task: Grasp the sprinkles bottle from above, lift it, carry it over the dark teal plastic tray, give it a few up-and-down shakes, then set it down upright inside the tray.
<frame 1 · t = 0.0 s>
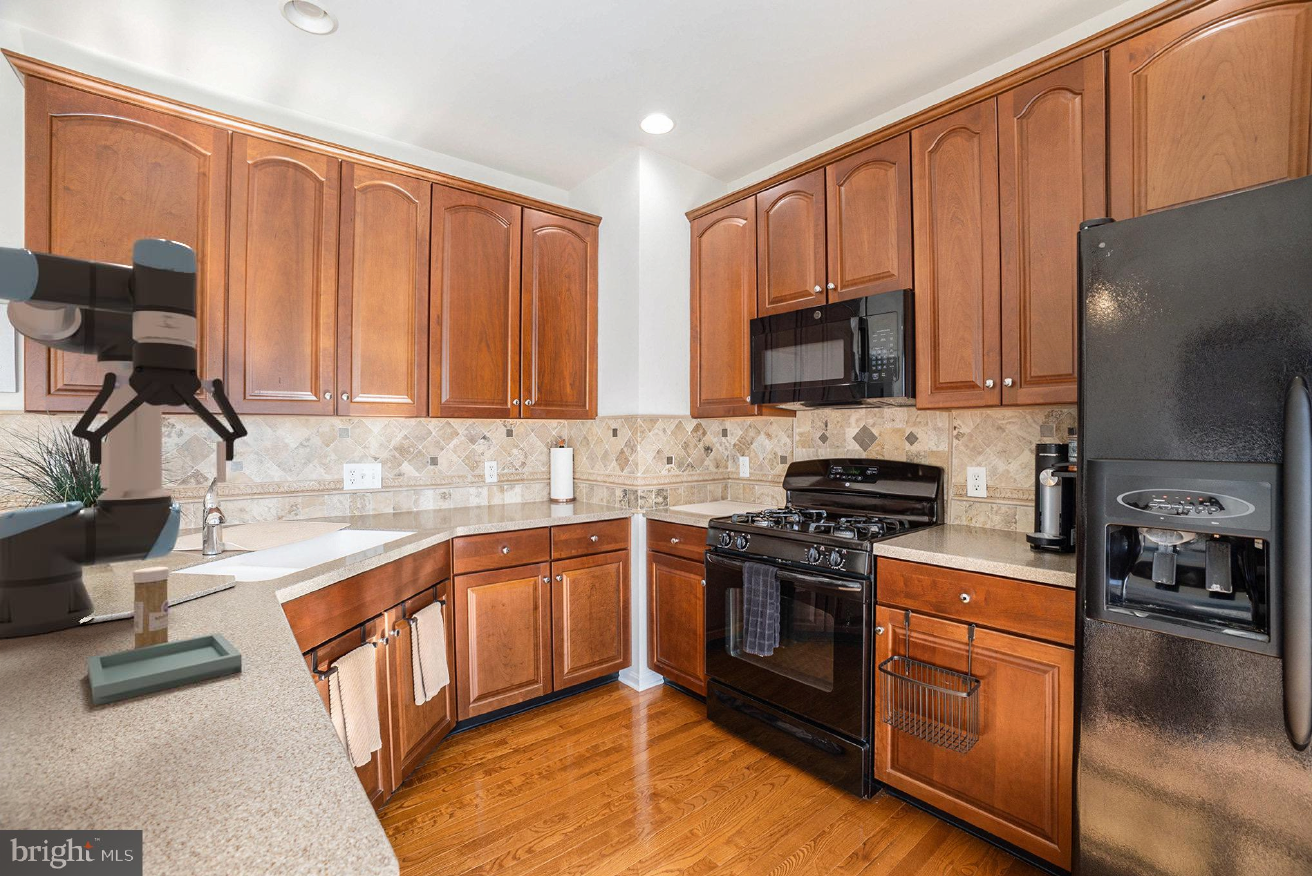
hand: (166, 485, 89), 28 cm above the counter, tool pointing down, fingers open, 13 cm apart
tray: (164, 673, 88), on the counter
sprinkles bottle: (151, 650, 99), on the counter
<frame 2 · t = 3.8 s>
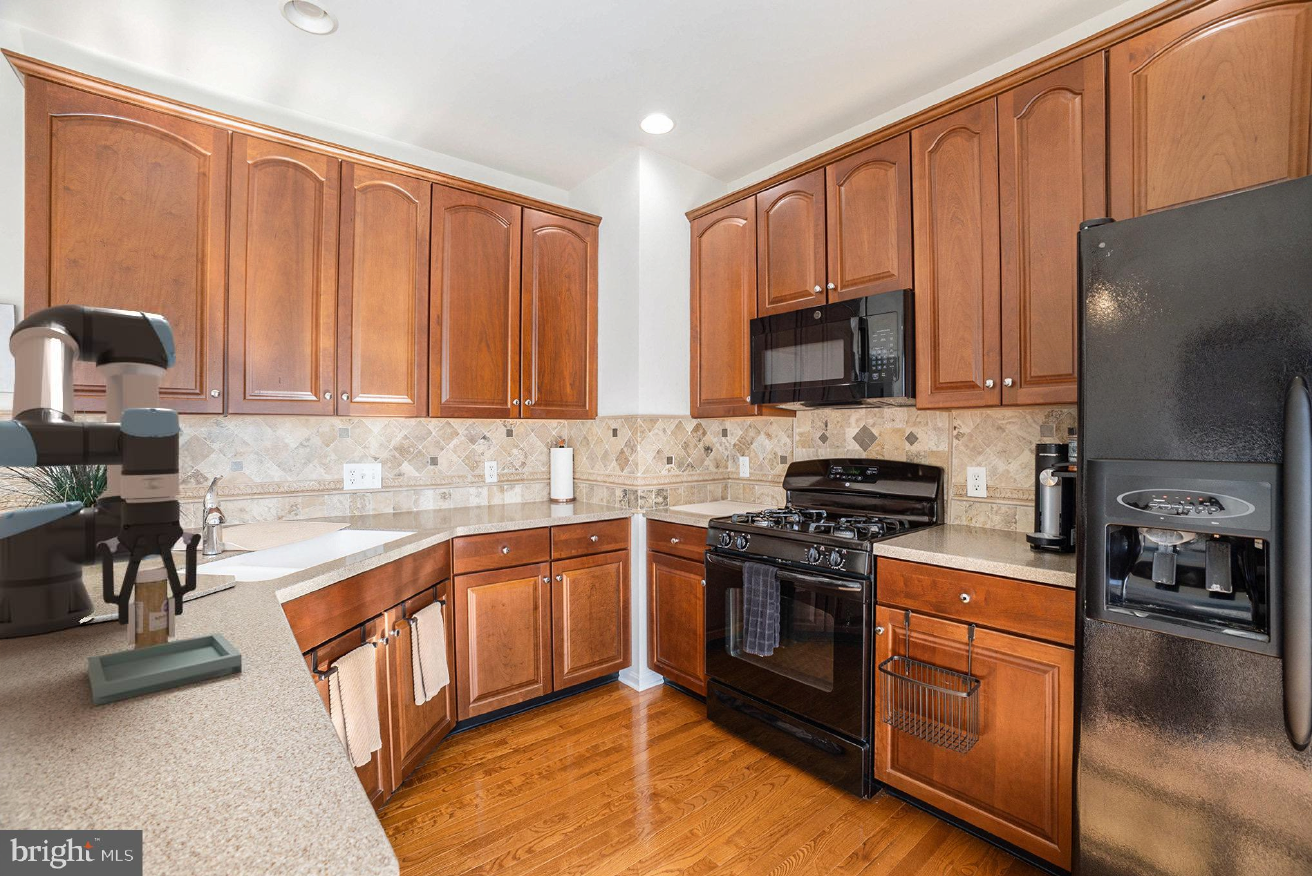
hand: (151, 638, 99), 2 cm above the counter, tool pointing down, fingers closed on sprinkles bottle, 4 cm apart
sprinkles bottle: (151, 650, 99), on the counter, touching gripper
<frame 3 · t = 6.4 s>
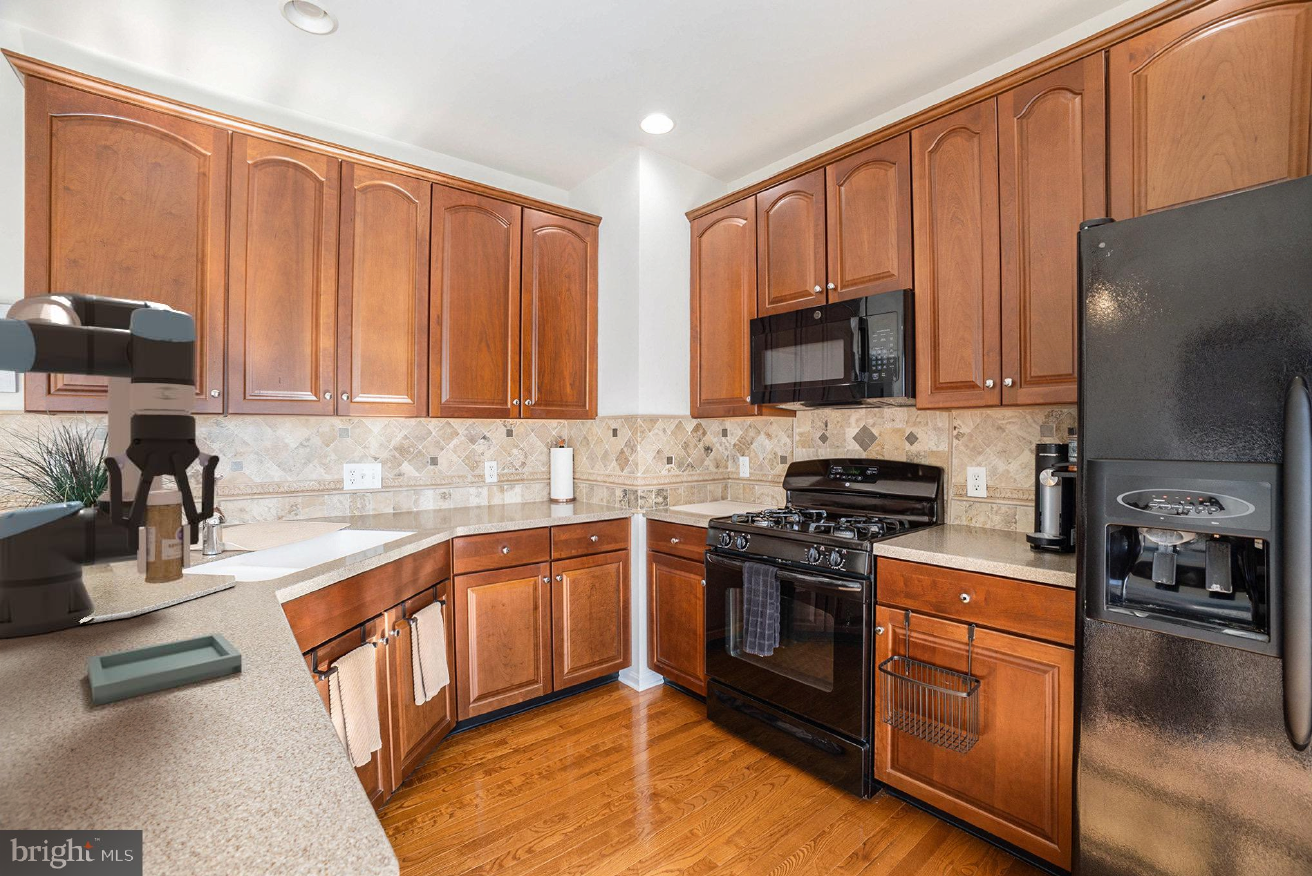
hand: (164, 569, 88), 15 cm above the counter, tool pointing down, fingers closed on sprinkles bottle, 4 cm apart
sprinkles bottle: (164, 582, 88), point 13 cm above the counter, touching gripper
when the fingers open (4 cm above the counter, at t = 9.0 s): sprinkles bottle drops 1 cm, resting on tray.
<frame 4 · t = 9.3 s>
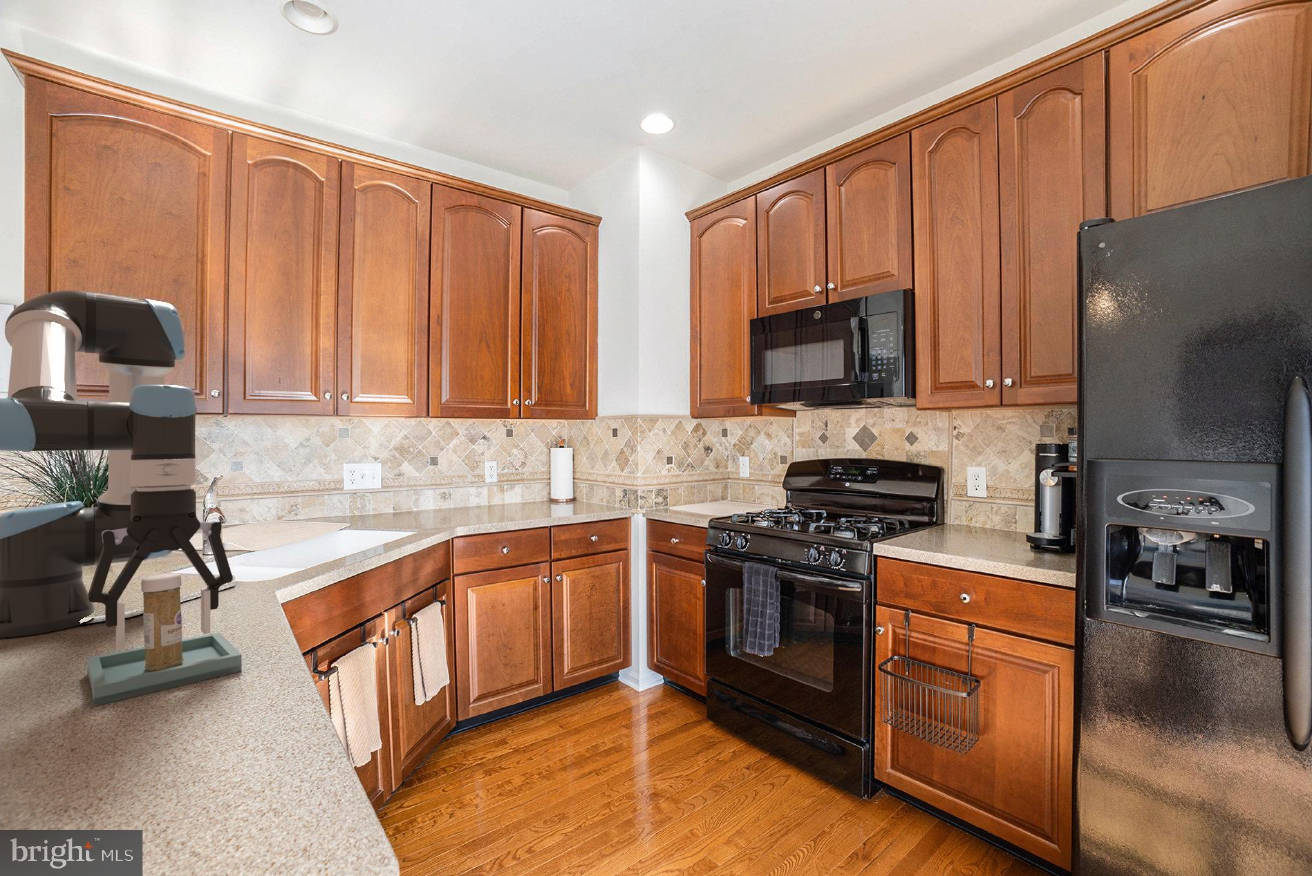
hand: (164, 639, 88), 5 cm above the counter, tool pointing down, fingers open, 9 cm apart
sprinkles bottle: (164, 667, 88), point 1 cm above the counter, touching tray
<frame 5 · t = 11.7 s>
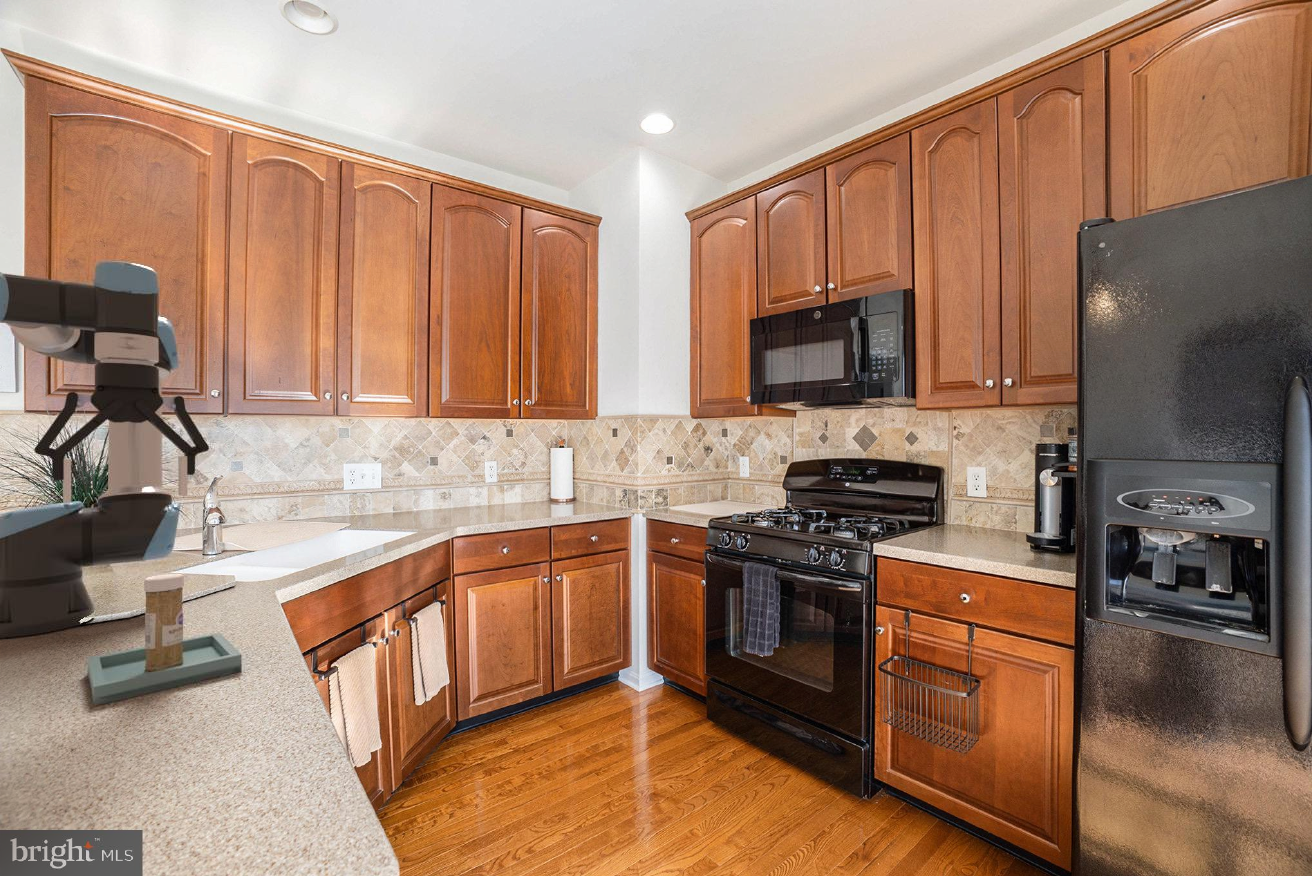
hand: (128, 498, 93), 26 cm above the counter, tool pointing down, fingers open, 13 cm apart
nothing on the counter moved.
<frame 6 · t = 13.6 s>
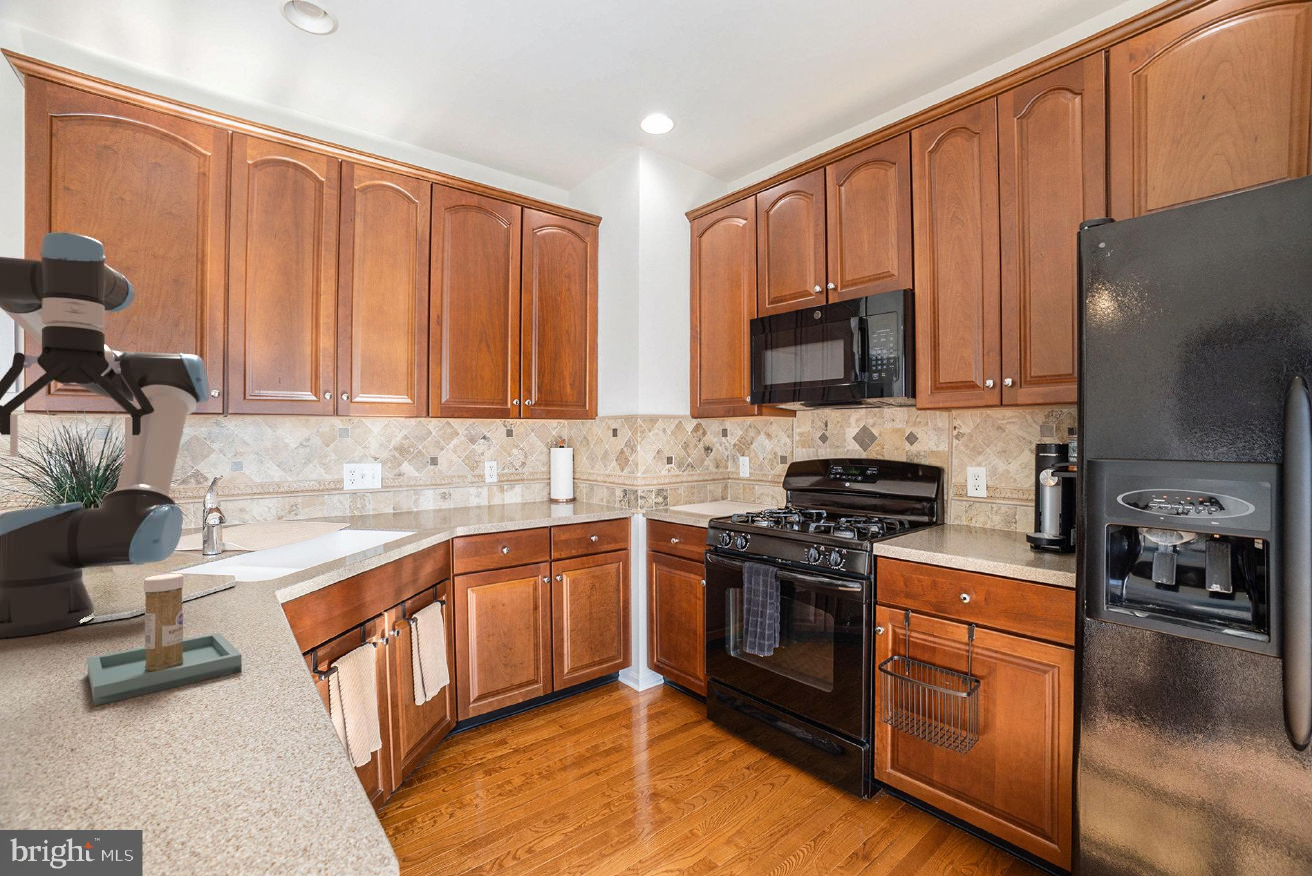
hand: (74, 455, 99), 33 cm above the counter, tool pointing down, fingers open, 13 cm apart
nothing on the counter moved.
at the end: sprinkles bottle inside the target area on the tray (0.1 cm from its centre), point 0.8 cm above the tray's base; sprinkles bottle tilted 0°; the gripper is holding nothing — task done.
